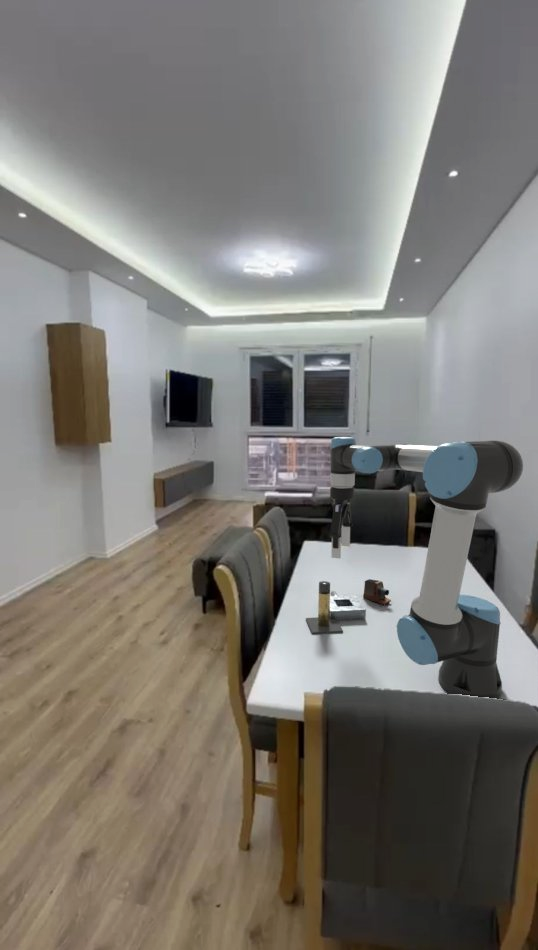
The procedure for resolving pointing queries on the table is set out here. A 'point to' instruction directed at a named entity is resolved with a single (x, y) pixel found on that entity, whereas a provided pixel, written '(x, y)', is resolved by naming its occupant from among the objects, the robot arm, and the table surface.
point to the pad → (332, 628)
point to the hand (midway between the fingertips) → (340, 551)
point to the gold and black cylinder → (324, 603)
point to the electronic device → (375, 592)
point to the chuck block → (346, 608)
